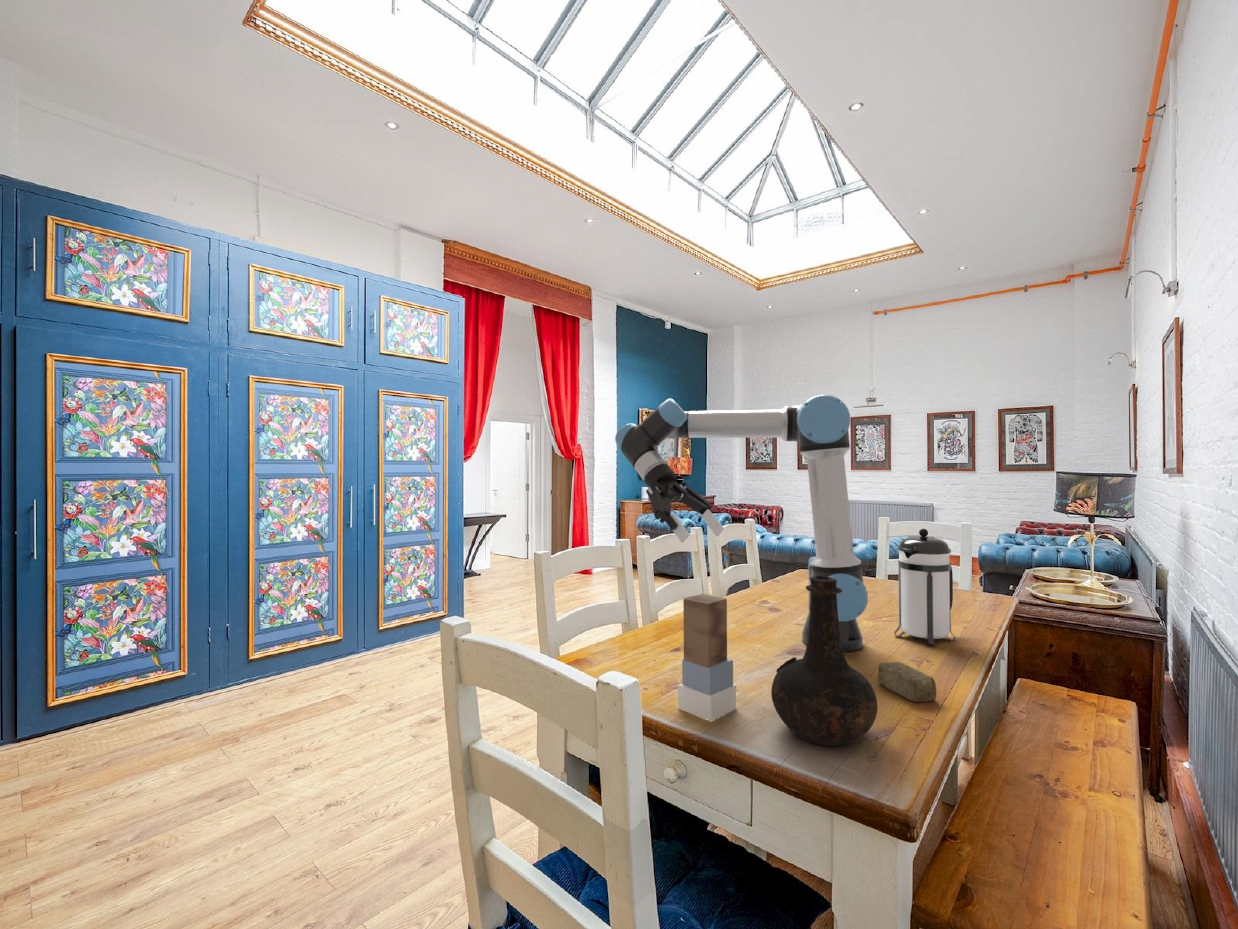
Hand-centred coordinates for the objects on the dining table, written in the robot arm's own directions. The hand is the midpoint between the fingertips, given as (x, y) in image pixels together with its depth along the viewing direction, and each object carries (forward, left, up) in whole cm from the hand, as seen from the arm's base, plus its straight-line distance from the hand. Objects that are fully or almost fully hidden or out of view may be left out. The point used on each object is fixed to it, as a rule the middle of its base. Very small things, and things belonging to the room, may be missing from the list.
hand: (703, 535), depth 134 cm
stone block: (-43, +4, -31) cm, 53 cm away
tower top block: (-4, +24, -26) cm, 36 cm away
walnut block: (-4, +24, -21) cm, 32 cm away
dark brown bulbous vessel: (-25, +28, -31) cm, 49 cm away
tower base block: (-4, +24, -31) cm, 39 cm away
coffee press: (-55, -38, -31) cm, 74 cm away
